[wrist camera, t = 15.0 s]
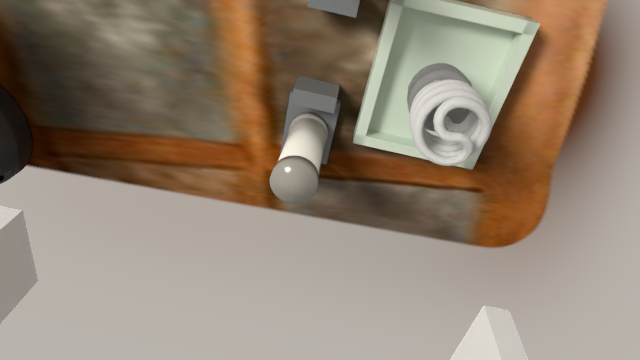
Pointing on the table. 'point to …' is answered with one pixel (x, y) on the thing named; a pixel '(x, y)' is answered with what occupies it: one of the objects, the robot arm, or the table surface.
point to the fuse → (300, 159)
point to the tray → (438, 47)
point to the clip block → (319, 84)
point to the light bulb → (446, 115)
